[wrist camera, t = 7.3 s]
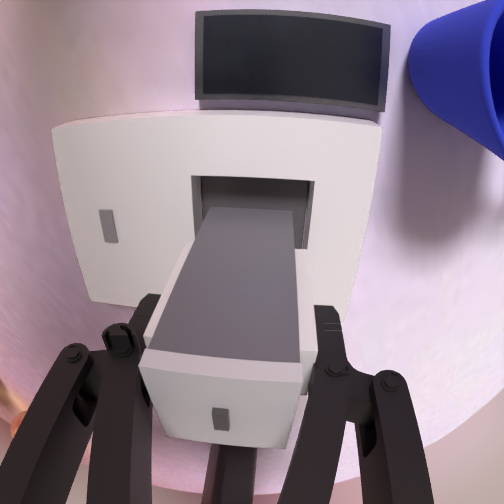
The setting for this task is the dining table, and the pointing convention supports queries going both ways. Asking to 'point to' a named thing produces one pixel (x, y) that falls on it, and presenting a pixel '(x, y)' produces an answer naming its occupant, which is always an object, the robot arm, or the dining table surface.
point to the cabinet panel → (212, 190)
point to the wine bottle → (230, 475)
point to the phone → (291, 57)
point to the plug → (230, 334)
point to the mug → (464, 71)
